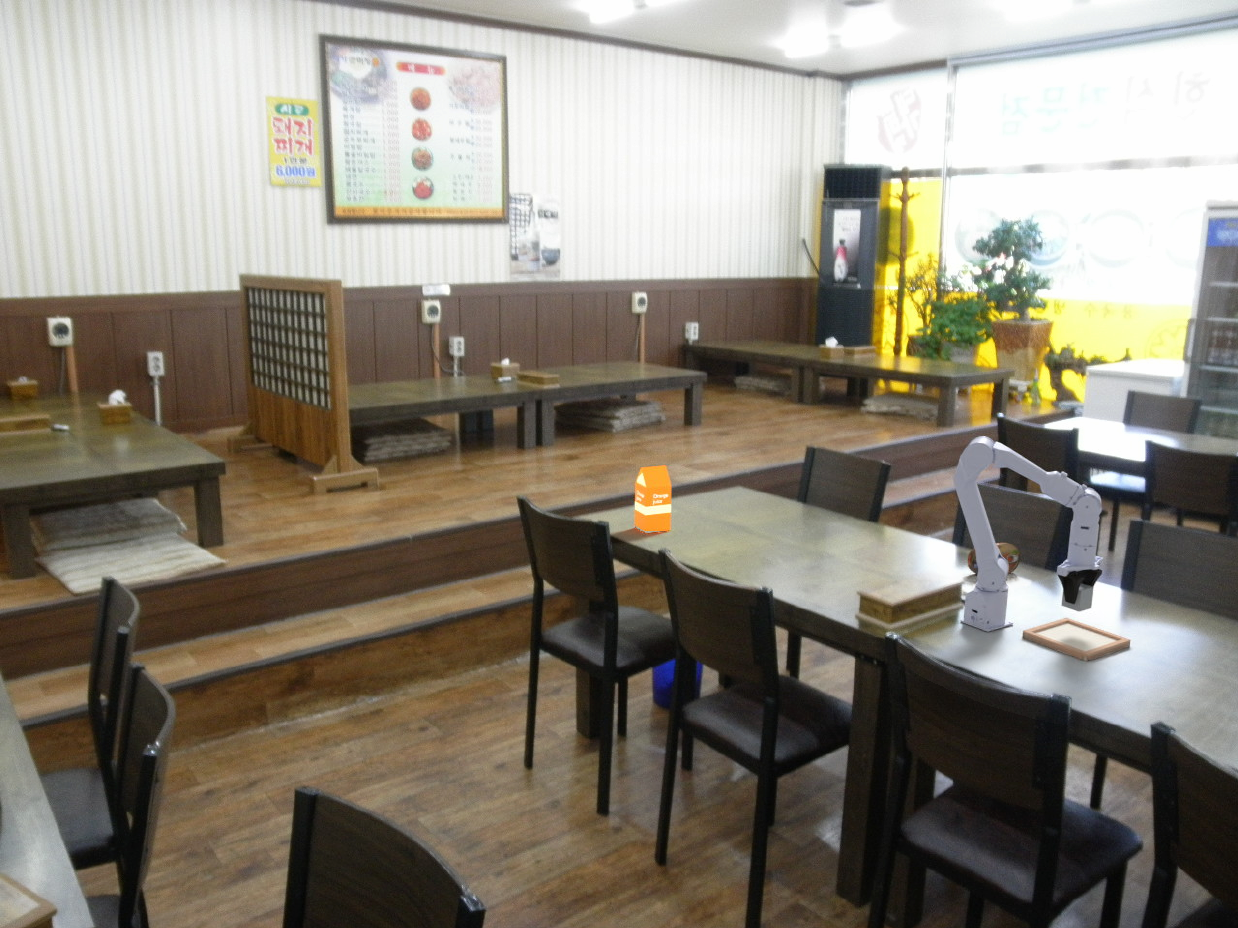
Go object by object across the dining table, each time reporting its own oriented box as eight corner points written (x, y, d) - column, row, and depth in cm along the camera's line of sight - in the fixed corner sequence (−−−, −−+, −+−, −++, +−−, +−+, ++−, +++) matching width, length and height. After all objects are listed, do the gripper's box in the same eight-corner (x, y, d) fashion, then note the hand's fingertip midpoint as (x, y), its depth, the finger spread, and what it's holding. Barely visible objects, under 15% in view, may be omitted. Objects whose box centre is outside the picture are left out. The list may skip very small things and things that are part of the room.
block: (1079, 611, 232) (1081, 590, 231) (1061, 605, 235) (1063, 584, 234) (1091, 607, 234) (1093, 586, 233) (1073, 602, 238) (1075, 581, 237)
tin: (971, 577, 277) (973, 547, 275) (964, 573, 280) (967, 544, 278) (1019, 573, 281) (1022, 543, 279) (1012, 569, 284) (1015, 540, 282)
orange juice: (634, 527, 321) (635, 465, 317) (659, 524, 325) (660, 462, 321) (645, 534, 314) (646, 470, 310) (671, 531, 318) (672, 467, 314)
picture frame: (1086, 661, 222) (1087, 654, 221) (1022, 637, 235) (1023, 630, 234) (1129, 646, 230) (1130, 639, 230) (1065, 624, 243) (1066, 617, 243)
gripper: (1080, 552, 224) (1073, 611, 227) (1118, 542, 232) (1111, 599, 235) (1051, 544, 230) (1045, 602, 233) (1089, 535, 238) (1083, 591, 241)
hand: (1076, 600), depth 234 cm, fingers closed on block, 4 cm apart
